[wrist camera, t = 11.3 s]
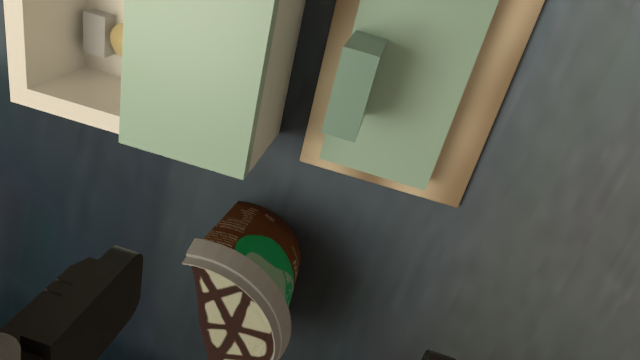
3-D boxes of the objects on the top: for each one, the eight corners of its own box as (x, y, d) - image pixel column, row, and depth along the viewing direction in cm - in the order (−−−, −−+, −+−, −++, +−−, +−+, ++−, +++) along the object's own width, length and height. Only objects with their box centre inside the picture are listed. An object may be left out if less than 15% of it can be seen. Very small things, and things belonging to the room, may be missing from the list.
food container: (317, 315, 44) (288, 411, 35) (250, 308, 45) (206, 398, 36) (312, 189, 39) (277, 264, 30) (236, 184, 40) (180, 255, 31)
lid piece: (497, -8, 30) (513, 6, 24) (425, 179, 36) (424, 228, 30) (374, -42, 30) (359, -36, 24) (324, 148, 36) (302, 190, 30)
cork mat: (553, -24, 29) (555, -24, 29) (457, 205, 37) (457, 207, 36) (355, -76, 30) (354, -76, 30) (300, 158, 38) (299, 160, 37)
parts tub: (317, -57, 31) (283, -54, 24) (279, 133, 37) (243, 180, 30) (77, -121, 32) (-22, -136, 25) (78, 74, 38) (-2, 106, 31)
